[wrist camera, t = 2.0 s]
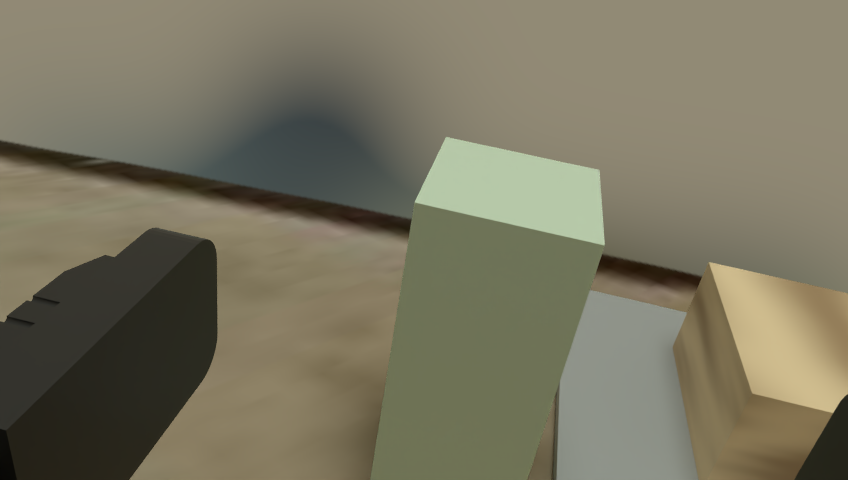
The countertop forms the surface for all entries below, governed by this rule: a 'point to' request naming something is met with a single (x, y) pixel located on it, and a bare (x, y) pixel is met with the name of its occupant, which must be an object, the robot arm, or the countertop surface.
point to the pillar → (486, 312)
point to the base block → (759, 372)
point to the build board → (622, 396)
